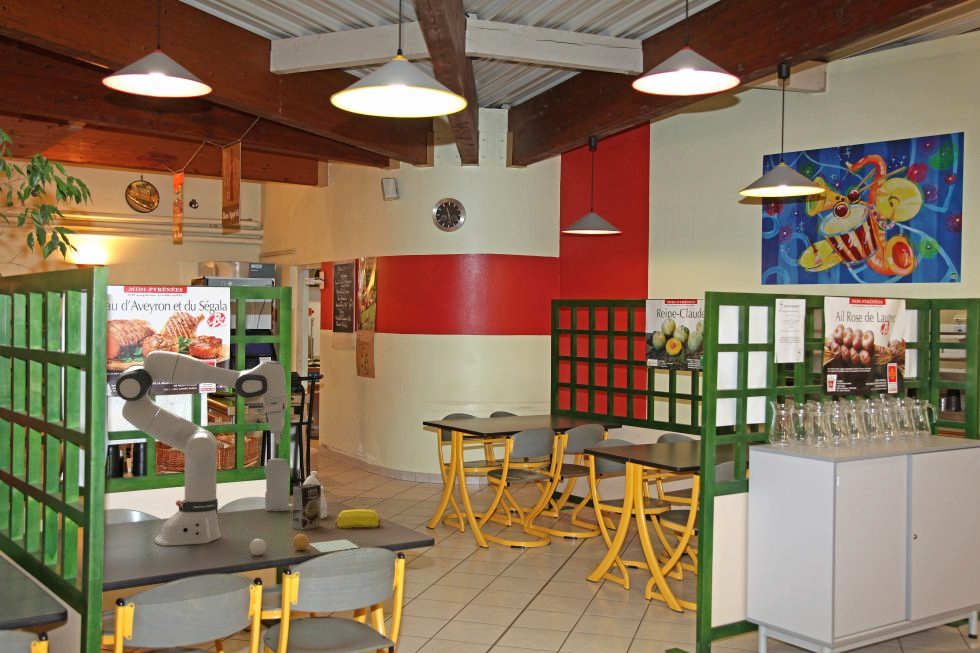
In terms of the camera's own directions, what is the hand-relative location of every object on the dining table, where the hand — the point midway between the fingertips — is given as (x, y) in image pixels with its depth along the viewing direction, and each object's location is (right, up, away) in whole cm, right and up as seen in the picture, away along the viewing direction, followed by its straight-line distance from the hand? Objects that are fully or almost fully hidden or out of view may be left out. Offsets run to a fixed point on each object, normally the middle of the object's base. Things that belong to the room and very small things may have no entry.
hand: (279, 441), depth 331 cm
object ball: (+12, -32, -20) cm, 40 cm away
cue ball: (-1, -32, -28) cm, 43 cm away
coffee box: (+7, -35, +16) cm, 39 cm away
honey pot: (+5, -36, +36) cm, 51 cm away
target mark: (+23, -35, -15) cm, 44 cm away
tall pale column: (-12, -35, +47) cm, 60 cm away
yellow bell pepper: (+27, -36, +17) cm, 48 cm away
